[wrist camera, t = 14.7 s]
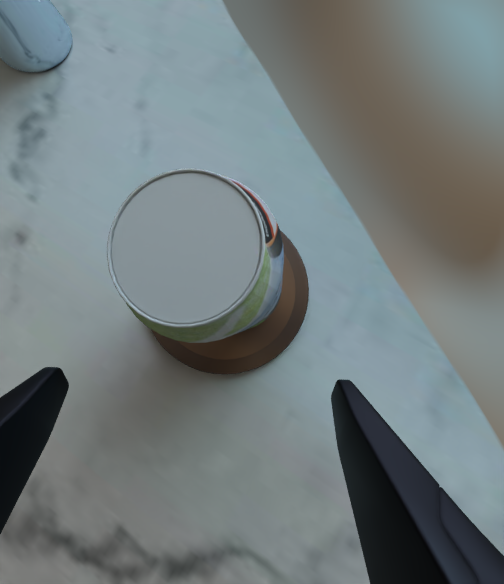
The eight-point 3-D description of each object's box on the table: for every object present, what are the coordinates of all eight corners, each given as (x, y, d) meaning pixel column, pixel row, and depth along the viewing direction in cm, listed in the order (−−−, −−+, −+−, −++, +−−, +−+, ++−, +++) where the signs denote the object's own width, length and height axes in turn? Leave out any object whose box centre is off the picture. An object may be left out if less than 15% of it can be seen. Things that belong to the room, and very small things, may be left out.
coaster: (271, 400, 20) (272, 402, 19) (115, 333, 20) (111, 333, 19) (329, 249, 21) (332, 246, 21) (186, 190, 22) (185, 185, 21)
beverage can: (295, 298, 20) (374, 244, 8) (210, 359, 19) (161, 398, 7) (244, 230, 21) (251, 88, 9) (160, 286, 20) (41, 212, 8)
